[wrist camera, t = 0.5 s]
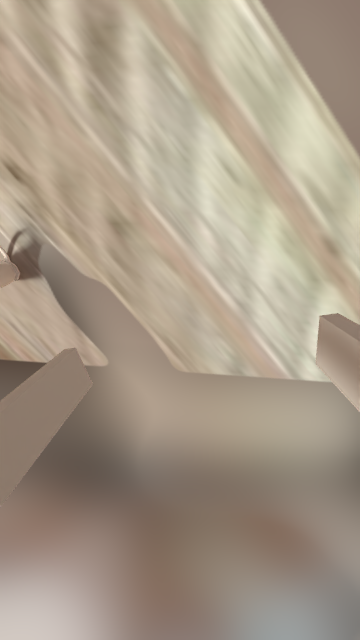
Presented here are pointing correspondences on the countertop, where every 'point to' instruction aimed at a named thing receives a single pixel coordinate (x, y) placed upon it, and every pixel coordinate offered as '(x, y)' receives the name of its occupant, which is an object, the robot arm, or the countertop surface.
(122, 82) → the countertop surface
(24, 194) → the countertop surface
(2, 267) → the cup
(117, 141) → the countertop surface
